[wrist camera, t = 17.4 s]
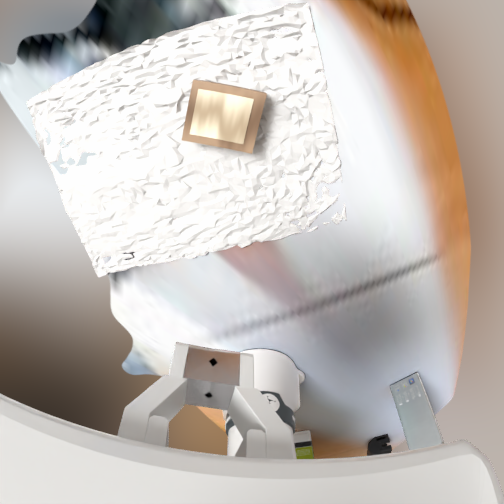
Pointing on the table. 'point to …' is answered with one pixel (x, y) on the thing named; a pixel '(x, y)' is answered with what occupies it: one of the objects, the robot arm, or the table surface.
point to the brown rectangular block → (223, 115)
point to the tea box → (303, 445)
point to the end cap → (379, 446)
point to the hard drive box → (416, 413)
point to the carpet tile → (189, 153)
